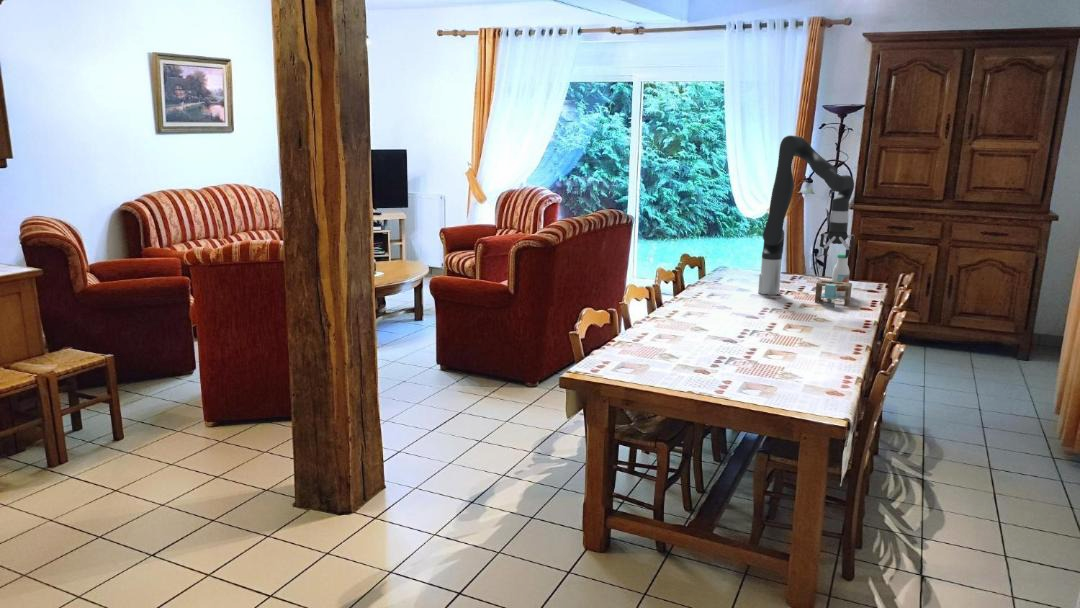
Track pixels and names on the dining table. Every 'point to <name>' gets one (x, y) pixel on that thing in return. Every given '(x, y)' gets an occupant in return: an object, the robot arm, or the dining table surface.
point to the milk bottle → (841, 273)
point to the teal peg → (830, 294)
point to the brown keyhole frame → (838, 284)
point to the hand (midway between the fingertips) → (835, 257)
